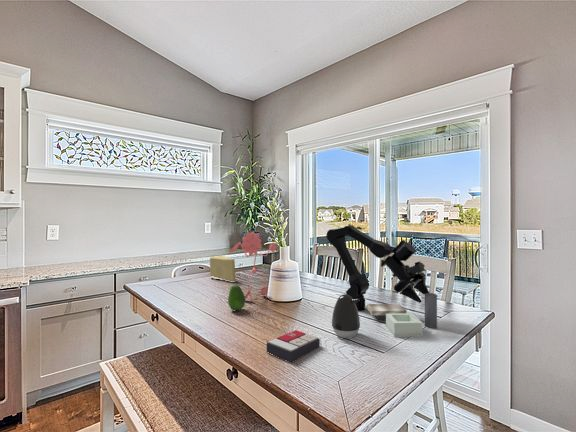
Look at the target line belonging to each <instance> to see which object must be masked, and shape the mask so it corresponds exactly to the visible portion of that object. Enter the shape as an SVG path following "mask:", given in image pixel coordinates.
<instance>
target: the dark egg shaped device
mask: <svg viewBox="0 0 576 432" xmlns="http://www.w3.org/2000/svg"><path fill="white" fill-rule="evenodd" d="M358 301H360V300H359V298H357V299H352V297H351V296H350V295H347V294H346V293H344V294H341V295H339V297H338V298H337V300H336V302H335V305H334V307H333V310H332V311H333V312H332V318H331V327H332V329H333V332H334V333H335V335H336V336H338V337H340V338H343V339H351V338H354V337H355V336H357V334H358V333H359V329H360V328H361V321H360V320H361V319H360V313H359V310H357V307H356V305H355V303H356V302H358Z"/></svg>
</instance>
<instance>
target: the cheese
mask: <svg viewBox="0 0 576 432" xmlns="http://www.w3.org/2000/svg"><path fill="white" fill-rule="evenodd" d="M235 263H236V261H235V258H232V257H231V258H230V257H227V256H223V255H216V256H210V257H209V272H210V273H209V275H210V276H214V277H218V278H222V279H225V280H229V281H235V282H236V265H235Z"/></svg>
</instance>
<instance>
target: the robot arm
mask: <svg viewBox="0 0 576 432" xmlns="http://www.w3.org/2000/svg"><path fill="white" fill-rule="evenodd" d="M347 236H349V237H350V238H352V239H354V240H356V241H357V242H359V243H360V244H362V245H363V246H365V247H367V249H368V250H369V251H370V252H371V254H372V255H374V256H375V257H376V258H377V259H378V258H379V259H381V258H385V259H381V261H380V267H385V266H387V268H388V269H389V270H390V272H392V276H393V277H394V278H397V280H398V282H397V283H396V284H395V285H394V286H393V291H395V293H396V294H399V295H402V296H404V297H407V298H409V299H411V300H413V301H415V302H417V304H418V303H419V304H421V303H422V302H423V301H422V299H421V298H420V296H419V295H418V293H417V292H416V291H418V292H419V293H421V294H423V295H424V294H425V293H430V291H429V289H428V287H427V285H426V278H427V275H426V274H425V273H424V272H425V271H426V269H425V267H426V265H425V264H424V263H423V262H421V261H416V262H415V263H414V265H413V266H410V265H408V264H404V262H406V261H407V260H408V259H410V258H411V257H413V255H414V254H415V253H416V251H417V250H416V248H415V246H413V245H412V244H410V243H409V242H407V241H406V240H405V239H402V240H401V241H400V242H398V244H397V245H396V246H391V245H390V244H389V243H388V242H385V241H381V240H378V239H375V238H373V237H371V236H370V235H368V234H366V233H364V232H363V231H361V230H359V229H358V228H356V227H355V226H354V225H345V226H344V227H340V228H332V229H329V230H327V232H326V235H325V237H326V240H328V243H329V244H330V245H332V247H334V248H335V249H336V251H337V254H338V256H339V258H340V260H341V262H342V264H343V266H344V268H345V270H346V272H347V274H348V279H349V280H348V284H349V288H348V289H347V290H346V291H345V294H347V295H350V296H351V297H352V299H357V298H359V300H360V301H358V302H356V303H355V305H356V307H357V310H358V311H365V310H366V309H365V308H366V299H365V296H364V295H366V294H367V291H368V290H369V288H370V283H369V282H370V281H369V279H368V278H367V275H366V274H365V273H361V272H360V271H359V269H358V267H357V265H356V264H355V262H354V259H353V257H352V255H351V253H350V250H349V249H348V247H347V244H346V237H347ZM402 261H403V262H402Z"/></svg>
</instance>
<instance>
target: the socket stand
mask: <svg viewBox="0 0 576 432" xmlns="http://www.w3.org/2000/svg"><path fill="white" fill-rule="evenodd" d="M385 326H386V328H387V330H388V331H389V332H390V334H392V336H393V337H394V338H398V337H399V338H400V337H402V338H404V337H407V338H408V337H409V338H410V337H423V322H422V321H421V319H419V318H418V317H416V315H414V314H413V313H412V312H409V313H408V312H407V313H395V314H386V320H385Z"/></svg>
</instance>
